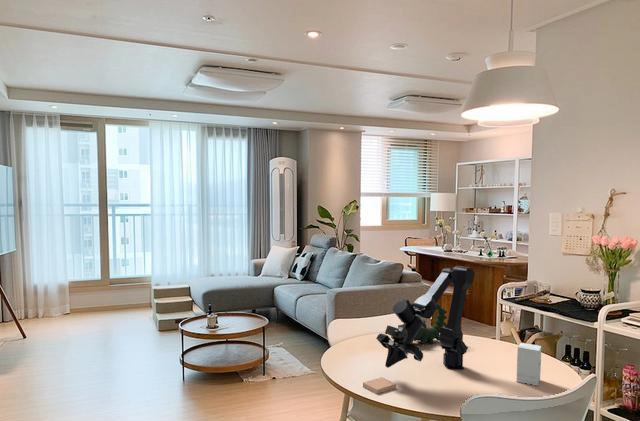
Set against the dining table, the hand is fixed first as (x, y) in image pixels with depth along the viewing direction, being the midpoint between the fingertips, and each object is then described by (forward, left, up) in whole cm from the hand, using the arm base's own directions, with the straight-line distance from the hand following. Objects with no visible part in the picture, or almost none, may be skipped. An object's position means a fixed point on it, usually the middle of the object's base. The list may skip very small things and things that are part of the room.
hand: (386, 366), depth 159 cm
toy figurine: (-25, -49, -7) cm, 56 cm away
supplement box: (-53, -5, -7) cm, 54 cm away
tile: (-1, -1, -6) cm, 6 cm away
